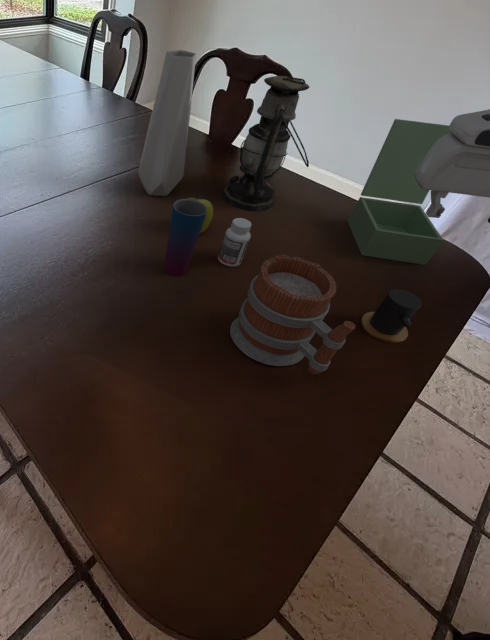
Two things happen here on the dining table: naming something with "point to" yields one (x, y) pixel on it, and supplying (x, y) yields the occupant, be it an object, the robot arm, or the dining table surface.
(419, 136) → the lid
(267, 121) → the lantern
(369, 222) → the chest
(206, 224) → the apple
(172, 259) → the cup
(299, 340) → the mug
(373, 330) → the coaster
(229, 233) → the pill bottle
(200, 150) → the dining table surface
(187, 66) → the vase
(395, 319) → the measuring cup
